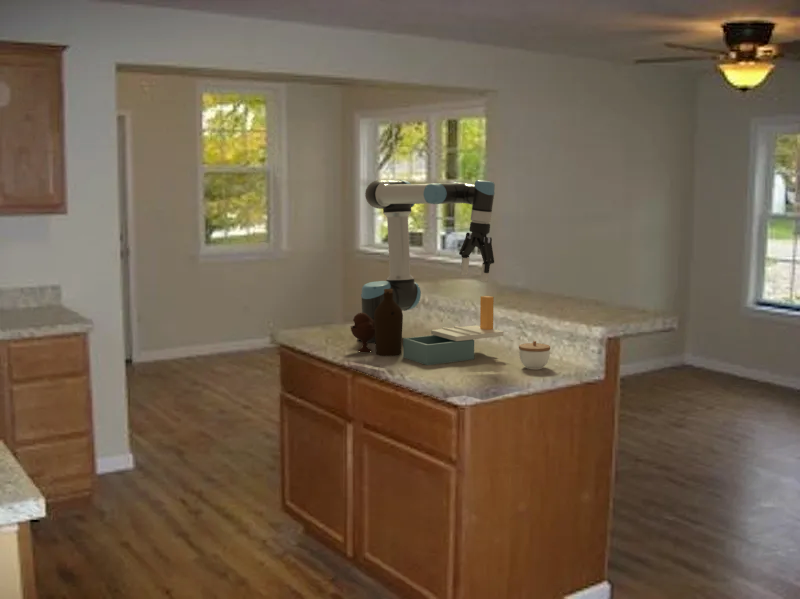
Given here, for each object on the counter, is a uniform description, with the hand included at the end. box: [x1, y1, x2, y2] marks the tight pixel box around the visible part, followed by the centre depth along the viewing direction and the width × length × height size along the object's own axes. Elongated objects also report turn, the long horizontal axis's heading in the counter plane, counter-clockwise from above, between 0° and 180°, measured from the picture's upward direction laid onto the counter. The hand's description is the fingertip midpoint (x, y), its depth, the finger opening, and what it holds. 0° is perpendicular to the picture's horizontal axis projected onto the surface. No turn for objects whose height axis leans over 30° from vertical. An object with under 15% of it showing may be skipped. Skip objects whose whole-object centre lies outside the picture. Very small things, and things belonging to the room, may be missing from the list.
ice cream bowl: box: [350, 312, 375, 353], centre depth 341 cm, size 11×11×15 cm
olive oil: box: [374, 289, 404, 357], centre depth 330 cm, size 11×11×25 cm
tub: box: [402, 334, 475, 366], centre depth 323 cm, size 16×20×8 cm
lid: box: [430, 295, 505, 341], centre depth 327 cm, size 17×21×14 cm
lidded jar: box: [518, 340, 551, 371], centre depth 310 cm, size 11×11×9 cm
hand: (473, 278), depth 339 cm, fingers open, 13 cm apart
